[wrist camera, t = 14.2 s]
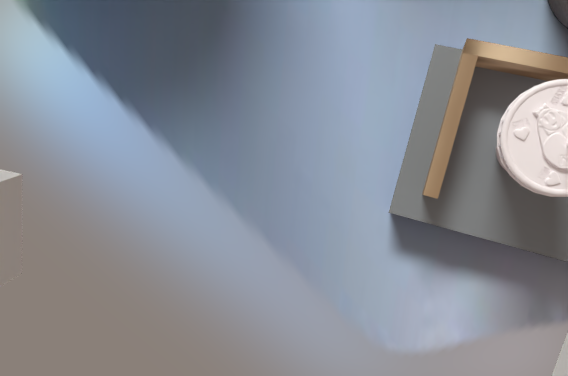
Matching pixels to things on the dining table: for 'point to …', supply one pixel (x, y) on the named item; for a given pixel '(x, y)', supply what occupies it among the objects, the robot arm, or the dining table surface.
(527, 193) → the dock
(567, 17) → the pillar candle
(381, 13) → the dining table surface
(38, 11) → the dining table surface
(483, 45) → the bay walls
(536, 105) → the smoothie
